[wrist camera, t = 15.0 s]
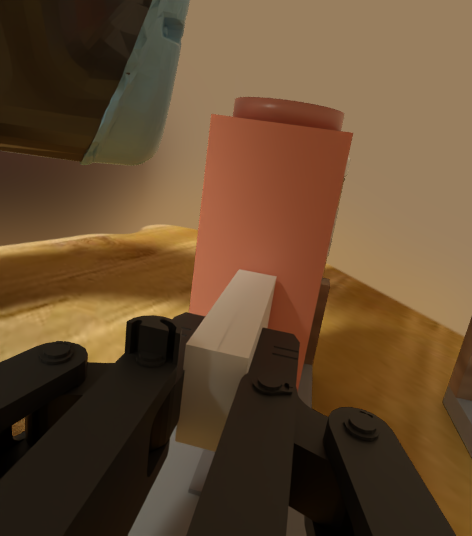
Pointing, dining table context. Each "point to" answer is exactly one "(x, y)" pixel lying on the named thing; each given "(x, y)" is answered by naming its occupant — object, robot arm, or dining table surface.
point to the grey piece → (199, 461)
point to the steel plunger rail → (462, 392)
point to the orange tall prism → (270, 205)
